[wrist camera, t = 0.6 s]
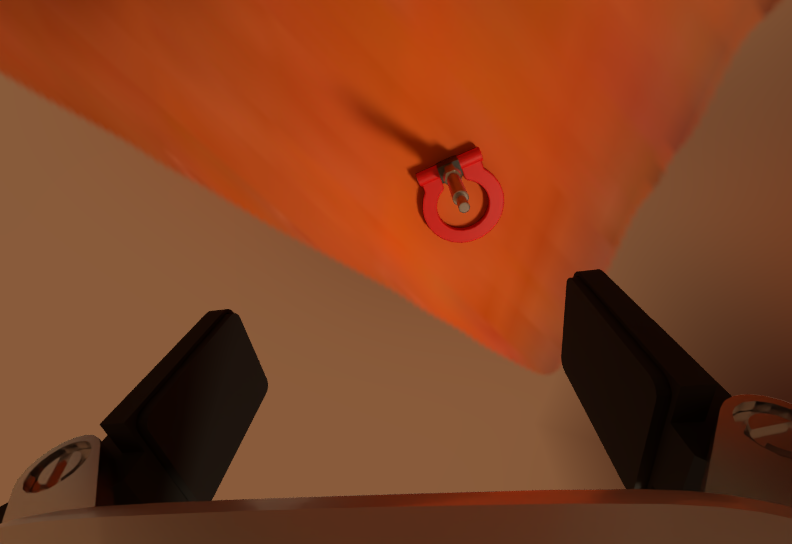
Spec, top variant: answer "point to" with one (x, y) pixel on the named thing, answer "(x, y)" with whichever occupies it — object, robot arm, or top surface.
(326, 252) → the top surface
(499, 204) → the tow hook
